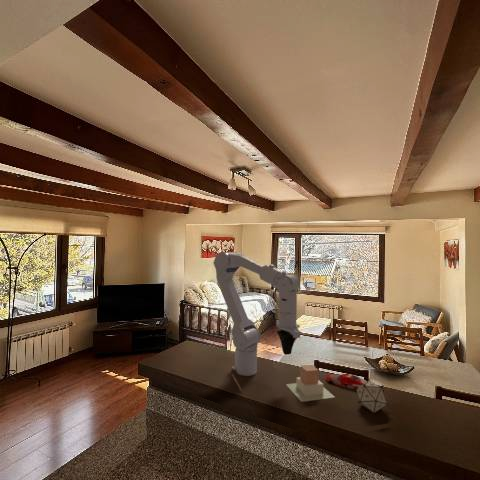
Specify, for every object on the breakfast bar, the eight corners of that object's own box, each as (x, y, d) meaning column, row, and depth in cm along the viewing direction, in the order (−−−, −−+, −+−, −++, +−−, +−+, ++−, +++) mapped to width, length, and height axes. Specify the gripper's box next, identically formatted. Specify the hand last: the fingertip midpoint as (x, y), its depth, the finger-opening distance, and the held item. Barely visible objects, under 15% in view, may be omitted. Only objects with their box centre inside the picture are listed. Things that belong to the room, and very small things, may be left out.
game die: (368, 427, 82) (351, 402, 80) (360, 401, 90) (344, 377, 88) (400, 417, 79) (383, 390, 77) (389, 391, 87) (374, 366, 85)
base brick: (296, 387, 95) (296, 377, 95) (313, 385, 96) (313, 375, 96) (305, 396, 89) (305, 386, 89) (323, 394, 91) (323, 384, 91)
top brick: (300, 378, 94) (300, 365, 94) (311, 377, 95) (311, 364, 95) (306, 384, 90) (306, 371, 90) (318, 383, 91) (318, 369, 91)
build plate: (285, 386, 97) (285, 384, 97) (316, 383, 99) (316, 380, 99) (301, 404, 86) (301, 401, 86) (335, 399, 89) (335, 397, 89)
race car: (323, 385, 99) (323, 373, 99) (328, 379, 103) (328, 367, 103) (366, 396, 92) (366, 383, 92) (369, 389, 96) (369, 376, 96)
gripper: (309, 316, 92) (309, 361, 91) (289, 306, 106) (288, 345, 105) (288, 317, 90) (287, 363, 90) (270, 307, 104) (270, 346, 104)
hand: (287, 353), depth 97 cm, fingers closed
